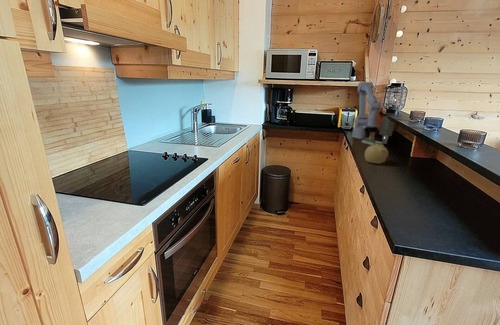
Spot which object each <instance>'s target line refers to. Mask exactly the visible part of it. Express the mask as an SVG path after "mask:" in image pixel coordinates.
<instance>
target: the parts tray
mask: <svg viewBox="0 0 500 325" xmlns="http://www.w3.org/2000/svg"><path fill="white" fill-rule="evenodd" d="M360 142H361V143H362V144H366V145H369V146H371V145H375V144H379V145H383V146H384V144H383V142H382V141H378V140H375V139H374V140H372V141H369V140H366V139H361V141H360Z"/></svg>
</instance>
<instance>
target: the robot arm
mask: <svg viewBox="0 0 500 325" xmlns="http://www.w3.org/2000/svg"><path fill="white" fill-rule="evenodd" d="M373 88H374V83H373V81H369V82H368V81H360V82H358V85H357V94H358V95H359V97H358V98H359V100H358V106H359V107H358V115H357V116H355V118H354V127H353V129H352V134H351V138H356V139H359V140H364V139H366V137H367V138H369V135H370V132H375V133H376V132H377V131H378V130H379V128H380V127H381V125H380V124H378V123H377V119H378V112H379V111H380V109H381V103H380V102H379V101H378V100H377V97H376V95H375V94H374V92H373ZM367 103H368V115H366V114H367V113H366V112H367V111H366V110H367Z"/></svg>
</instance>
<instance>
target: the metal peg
mask: <svg viewBox="0 0 500 325" xmlns="http://www.w3.org/2000/svg"><path fill="white" fill-rule="evenodd" d="M381 140H382V141H381V142H383V145H387V144H388V142H389V141H388V140H389V136H388V135H382V139H381Z"/></svg>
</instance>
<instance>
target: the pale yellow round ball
mask: <svg viewBox="0 0 500 325" xmlns="http://www.w3.org/2000/svg"><path fill="white" fill-rule="evenodd" d="M388 157H389V151H388V149H387V147H386V146H384V144H383V145H379V144H375V145H369V146H367V148H366V149H365V150H364V159H365V161H366V162H368V163H371V164H378V165H381V164H383V163H385V162H386V161H387V158H388Z"/></svg>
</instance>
